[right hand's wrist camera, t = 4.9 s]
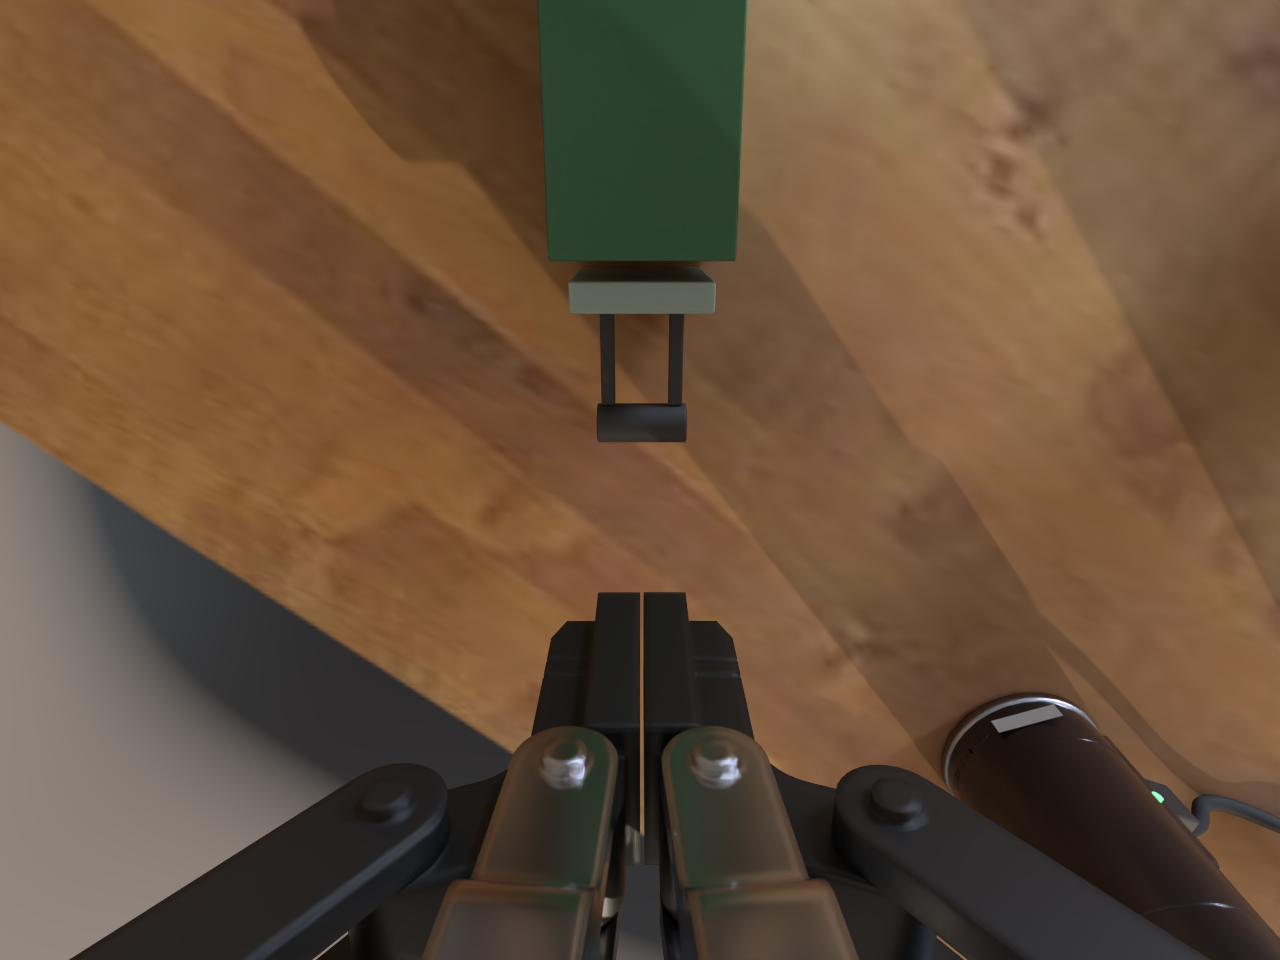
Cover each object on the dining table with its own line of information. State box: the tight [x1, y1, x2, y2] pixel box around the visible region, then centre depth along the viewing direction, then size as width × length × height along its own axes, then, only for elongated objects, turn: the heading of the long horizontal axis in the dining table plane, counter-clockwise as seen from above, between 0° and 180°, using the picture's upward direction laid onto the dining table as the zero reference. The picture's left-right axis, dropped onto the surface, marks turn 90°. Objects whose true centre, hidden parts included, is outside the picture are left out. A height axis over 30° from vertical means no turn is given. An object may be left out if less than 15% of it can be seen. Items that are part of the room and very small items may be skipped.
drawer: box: [568, 267, 716, 442], centre depth 29 cm, size 26×6×7 cm, turn 0°
